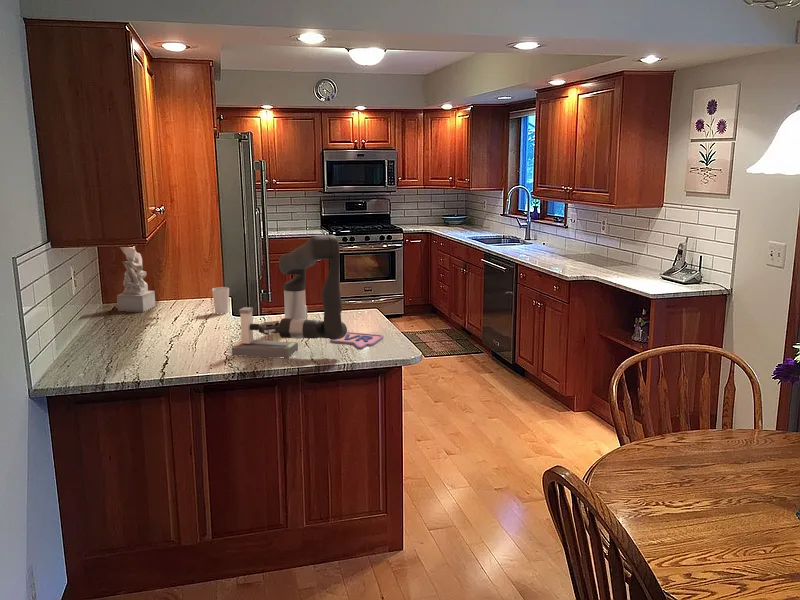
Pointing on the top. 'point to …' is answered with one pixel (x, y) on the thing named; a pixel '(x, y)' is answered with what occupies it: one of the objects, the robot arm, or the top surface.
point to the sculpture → (134, 285)
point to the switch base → (265, 348)
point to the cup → (221, 299)
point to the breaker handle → (246, 324)
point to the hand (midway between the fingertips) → (250, 326)
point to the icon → (359, 339)
